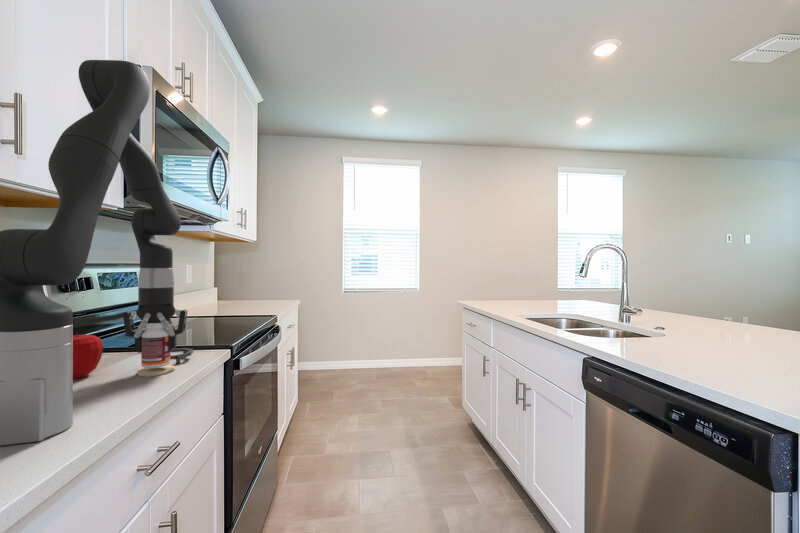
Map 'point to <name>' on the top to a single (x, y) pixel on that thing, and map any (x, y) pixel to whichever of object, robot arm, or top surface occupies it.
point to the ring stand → (185, 353)
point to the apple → (86, 354)
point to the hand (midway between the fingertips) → (156, 351)
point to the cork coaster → (156, 371)
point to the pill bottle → (155, 346)
